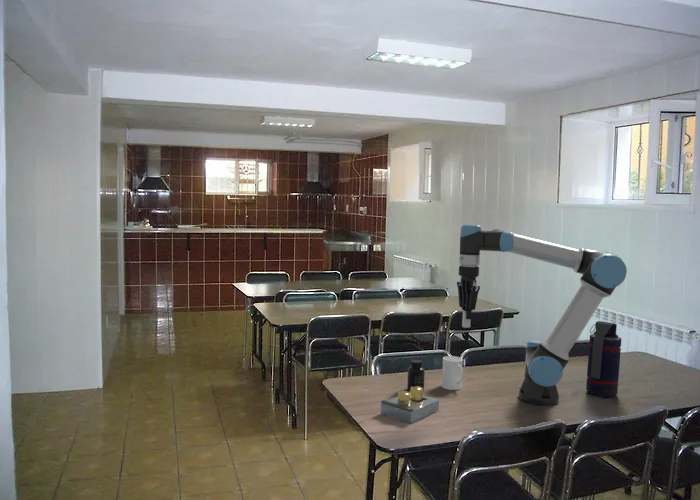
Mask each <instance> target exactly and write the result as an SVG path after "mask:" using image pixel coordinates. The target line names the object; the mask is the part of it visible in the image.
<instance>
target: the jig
mask: <svg viewBox="0 0 700 500" xmlns="http://www.w3.org/2000/svg"><path fill="white" fill-rule="evenodd" d="M439 401H440V399H437V398H433V397H431V396H427V395H424V394H423V397H422V402H420V403H418V402H414V401H411V393H410V391H407V390H401V391H398V392H397V396H396V397H392V398H390V399H388V400H385V399H382V400H381V403H380V415H382V416H386V417H389V418H392V419H395V420H398V421H401V422H405V423H408V424H412V423H415V422H417V421H419V420H422V419H423V418H425V417H428V416H430V415H432V414H434V413H436V412H439V404H440V402H439Z"/></svg>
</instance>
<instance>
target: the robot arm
mask: <svg viewBox="0 0 700 500" xmlns="http://www.w3.org/2000/svg"><path fill="white" fill-rule="evenodd" d="M459 235H460V236H459V257H458V261H459V262H458V263H459V266H458V275H459V276H460V280H459V281H456V286H457V290H458V291H457V293H458V295H457V296H458V305H459V306H458V307H459V308H461V311H462V317H461V318H462V321H461V327H462V328H464V329H465V328H471V320H472V311H475V310H476V307H477V302H478V301H477V300H478V295H479V292H480V289H481V286H480V285H477V278H478V277H479V275H480V267H479V266H480V260H481V259H480V257H481V256H480V255H481V253H480V252H481V251H483V252H484V251H486V252H487V251H488V252H502V253H511V254H513V255H514V254H515V255H519V256H522V257H527V258H530V259H535V260H538V261H541V262H546V263H550V264H552V265H557V266H561V267H565V268H569V269H572V270H573V272H575V273H577V274H580V275H582V276H581V277H580V278H579V280H580V284H581V285H580V287H579V288H578V290H577V291H576V294H575V295H574V297H573V298H572V300H571V302H570V303H569V304H568V306H567V307H566V309H565V311H564V313H563V314H562V316H561V318H559V320H558V322H557V324H556V325H555V327H554V329H553V330H552V332H551V333H550V335H549V336H548V338H547V340H543V341H542V340H528V341H527V342H526V346H525V362H524V364H525V365H524V377H523V380H522V383H521V385H520V388H519V390H518V398H519V399H520V400H522V401H524V402H527V403H529V404H533V405H540V406H553V405H556V404H558V403H559V402H560V394H559V391H558V387H557V384H558V383H560V381H561V380H562V377H563V373H564V369H565V368H566V366H567V364H568V363H569V361H570V356H569V354H570V351H571V350H572V349H573V346H574V345H575V343H576V342H577V340H578V339H579V337H580V336H581V334H582V333H583V331H584V330H585V328H586V326H587V325H588V323H589V322H590V320H591V318H592V317H593V315H594V313H595V312H596V311H597V309H598V308H599V306H600V305H601V302H602V301H603V299H604V298H607V297H608V298H609V297H611V295H612V293H613V292H614V291H615V289H616V288H617V287H619V286H620V285H621V284H623V282H624V281H625V280H626V277H627V274H628V273H627V272H628V271H627V266H626V264H625V262H624V261H623V259H622V258H621V257H620V256H618V255H617V254H615V253H611V252H608V251H604V250H594V249H593V250H592V249H587V248H584V247H583V248H582V247H581V248H579V249H577V248H572V247H568V246H565V245H560V244H556V243H552V242H548V241H544V240H541V239H537V238H532V237H528V236H525V235H521V234H516V233H514V232H512V231H506V230H505V231H504V230H502V229H499V228H497V229H492V230H483V229H482V226H481V225H479V224H463V225H462V226H461V227H460V234H459Z"/></svg>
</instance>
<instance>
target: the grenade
mask: <svg viewBox="0 0 700 500" xmlns="http://www.w3.org/2000/svg"><path fill="white" fill-rule="evenodd" d="M617 326H618V325H617V323H614V322H608V321H601V320H598V321H595V323H594V324H592V326H591V327H590V330H589V333H590V335H589V342H588V343H589V344H588V355H587V356H588V357H587V359H588V360H587V368H586V369H587V371H586V387H585V389H586V391H587V394H589V393H591V394H593V395H598V396H602V397H603V399H610V397H614V396H617V395H618V391H619V390H618V389H619V376H620V366H621V363H620V362H621V350H622V348H621V347H622V338H621V337H620V336H619V334H617ZM593 327H594V329H593V331H592V328H593Z"/></svg>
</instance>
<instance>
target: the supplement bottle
mask: <svg viewBox="0 0 700 500" xmlns="http://www.w3.org/2000/svg"><path fill="white" fill-rule="evenodd" d="M425 371H426V370H425V368H424V367H423V361H422V360H420V359H412V360H410V366H409V367H408V369H407V382H406V385H407V386H406V387H407V388H406V389H407V390H408V392H410V387H412V386H419V387H422V388H423V392H424V390H425V377H426V376H425V373H426V372H425Z"/></svg>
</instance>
